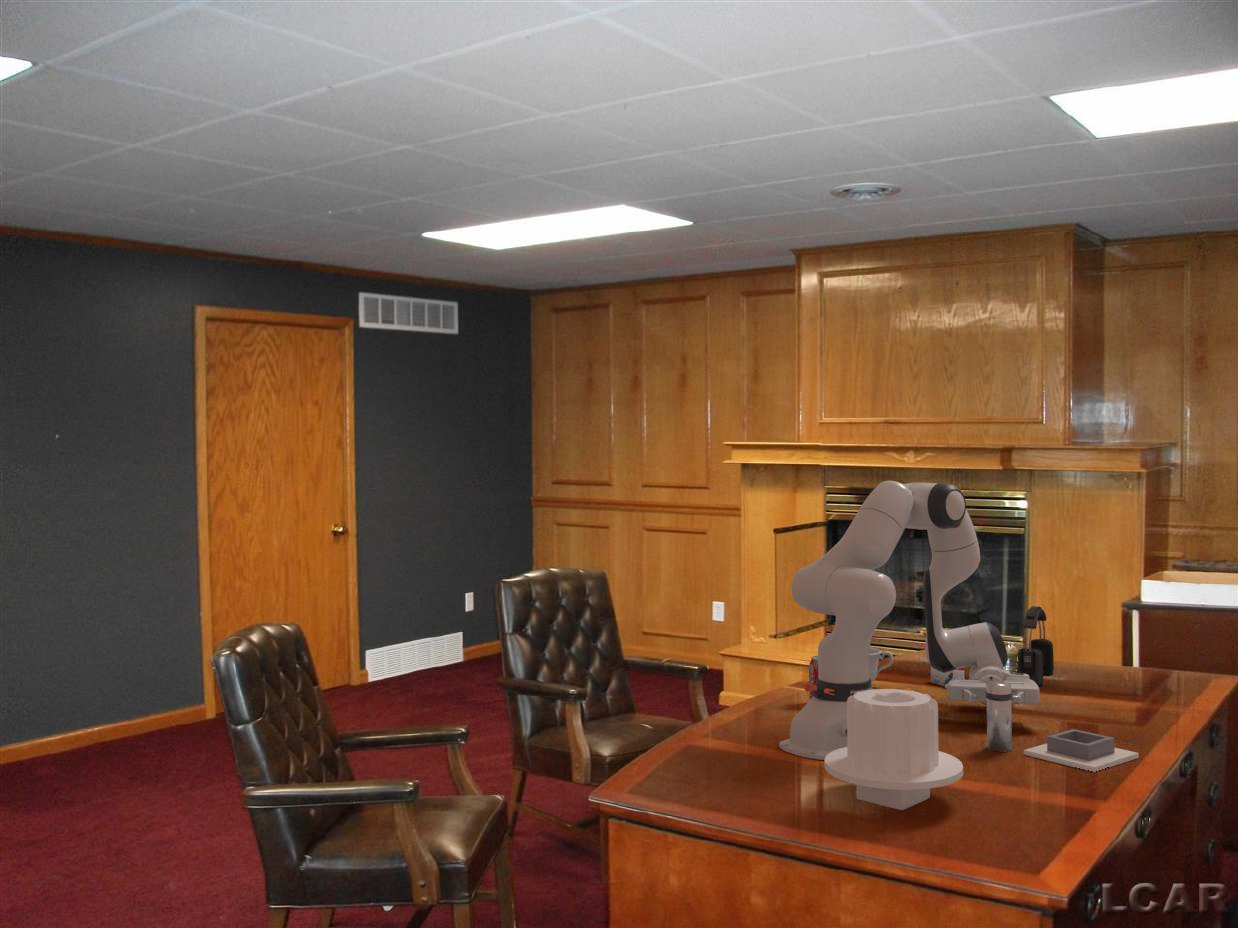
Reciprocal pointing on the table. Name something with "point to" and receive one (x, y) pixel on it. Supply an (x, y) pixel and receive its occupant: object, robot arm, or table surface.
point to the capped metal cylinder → (999, 716)
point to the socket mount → (1081, 750)
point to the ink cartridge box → (946, 676)
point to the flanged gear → (893, 748)
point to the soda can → (813, 672)
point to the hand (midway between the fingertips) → (994, 699)
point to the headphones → (1035, 649)
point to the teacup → (873, 662)
